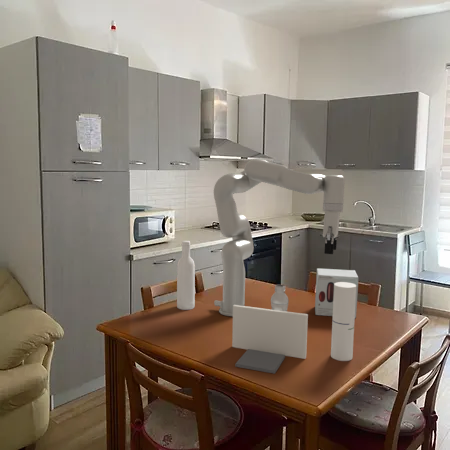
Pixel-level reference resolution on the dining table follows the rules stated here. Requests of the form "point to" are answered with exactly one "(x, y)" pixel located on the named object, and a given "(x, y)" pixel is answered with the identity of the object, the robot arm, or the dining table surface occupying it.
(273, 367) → the mat
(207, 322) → the dining table surface
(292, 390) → the dining table surface
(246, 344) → the screen
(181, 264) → the bottle
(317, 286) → the supplement box
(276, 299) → the plastic bottle
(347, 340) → the cylindrical container
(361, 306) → the dining table surface
